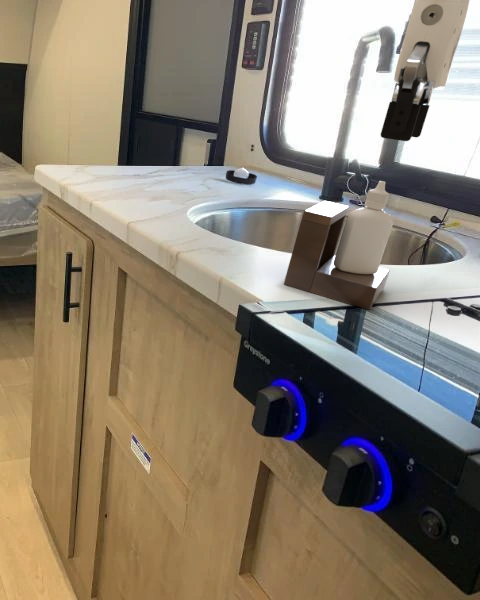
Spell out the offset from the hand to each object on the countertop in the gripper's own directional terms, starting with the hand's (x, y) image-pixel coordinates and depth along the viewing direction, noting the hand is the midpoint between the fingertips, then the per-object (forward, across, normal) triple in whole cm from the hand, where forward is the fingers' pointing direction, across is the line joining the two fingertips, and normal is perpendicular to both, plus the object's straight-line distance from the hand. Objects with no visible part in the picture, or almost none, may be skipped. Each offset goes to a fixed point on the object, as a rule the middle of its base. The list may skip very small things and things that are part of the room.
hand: (400, 137), depth 74 cm
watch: (+21, +66, +40) cm, 80 cm away
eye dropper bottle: (+18, 0, +1) cm, 18 cm away
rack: (+20, 0, +2) cm, 21 cm away
